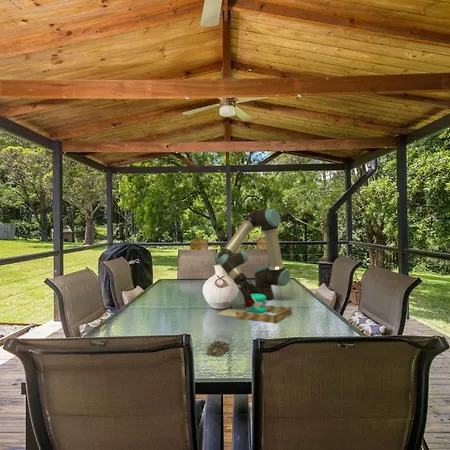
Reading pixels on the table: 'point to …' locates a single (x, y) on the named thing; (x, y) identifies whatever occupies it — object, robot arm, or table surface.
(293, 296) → the table surface
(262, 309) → the donuts
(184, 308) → the table surface
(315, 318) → the table surface
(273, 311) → the wooden u-shaped frame
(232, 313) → the beige mat
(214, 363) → the table surface
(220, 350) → the rough brown lump
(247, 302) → the plastic cup
